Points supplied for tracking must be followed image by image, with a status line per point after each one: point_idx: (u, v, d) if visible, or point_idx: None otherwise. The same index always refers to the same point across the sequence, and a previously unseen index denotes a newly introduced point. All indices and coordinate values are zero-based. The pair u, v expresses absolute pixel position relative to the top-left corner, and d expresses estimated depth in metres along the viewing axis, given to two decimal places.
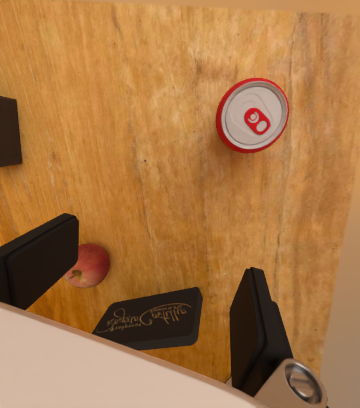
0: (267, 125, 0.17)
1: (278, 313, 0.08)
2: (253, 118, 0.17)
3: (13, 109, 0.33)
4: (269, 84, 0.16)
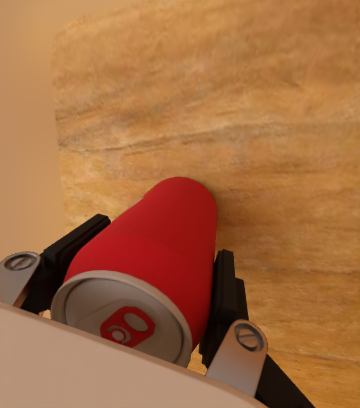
0: (132, 313, 0.07)
1: (243, 288, 0.09)
2: (121, 336, 0.07)
3: None
4: (54, 304, 0.07)
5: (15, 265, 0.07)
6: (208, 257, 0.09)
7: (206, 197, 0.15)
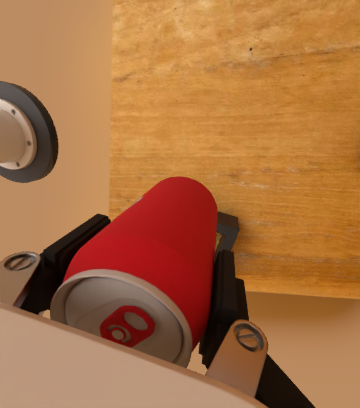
0: (132, 312, 0.07)
1: (244, 288, 0.09)
2: (121, 335, 0.07)
3: None
4: (54, 303, 0.07)
5: (15, 265, 0.07)
6: (208, 256, 0.09)
7: (206, 196, 0.15)
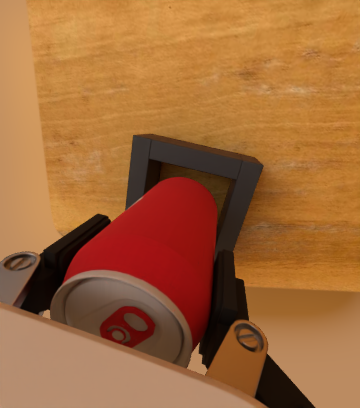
0: (132, 312, 0.07)
1: (244, 288, 0.09)
2: (121, 336, 0.07)
3: (164, 138, 0.20)
4: (53, 304, 0.07)
5: (15, 265, 0.07)
6: (208, 257, 0.09)
7: (206, 197, 0.15)
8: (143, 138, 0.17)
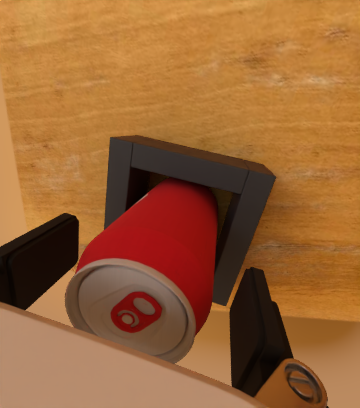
0: (141, 297, 0.07)
1: (278, 313, 0.08)
2: (130, 320, 0.08)
3: (152, 140, 0.17)
4: (68, 290, 0.08)
5: None
6: (210, 249, 0.10)
7: (207, 194, 0.15)
8: (122, 141, 0.13)
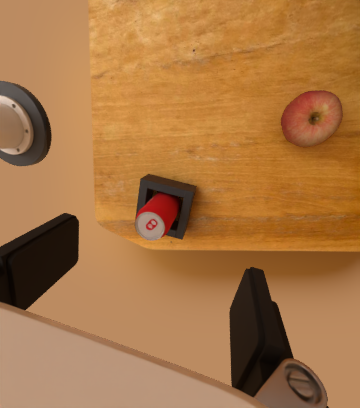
0: (153, 220, 0.34)
1: (278, 313, 0.08)
2: (150, 226, 0.34)
3: (154, 176, 0.43)
4: (136, 220, 0.34)
5: None
6: (170, 213, 0.36)
7: (174, 197, 0.42)
8: (145, 180, 0.39)
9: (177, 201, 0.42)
